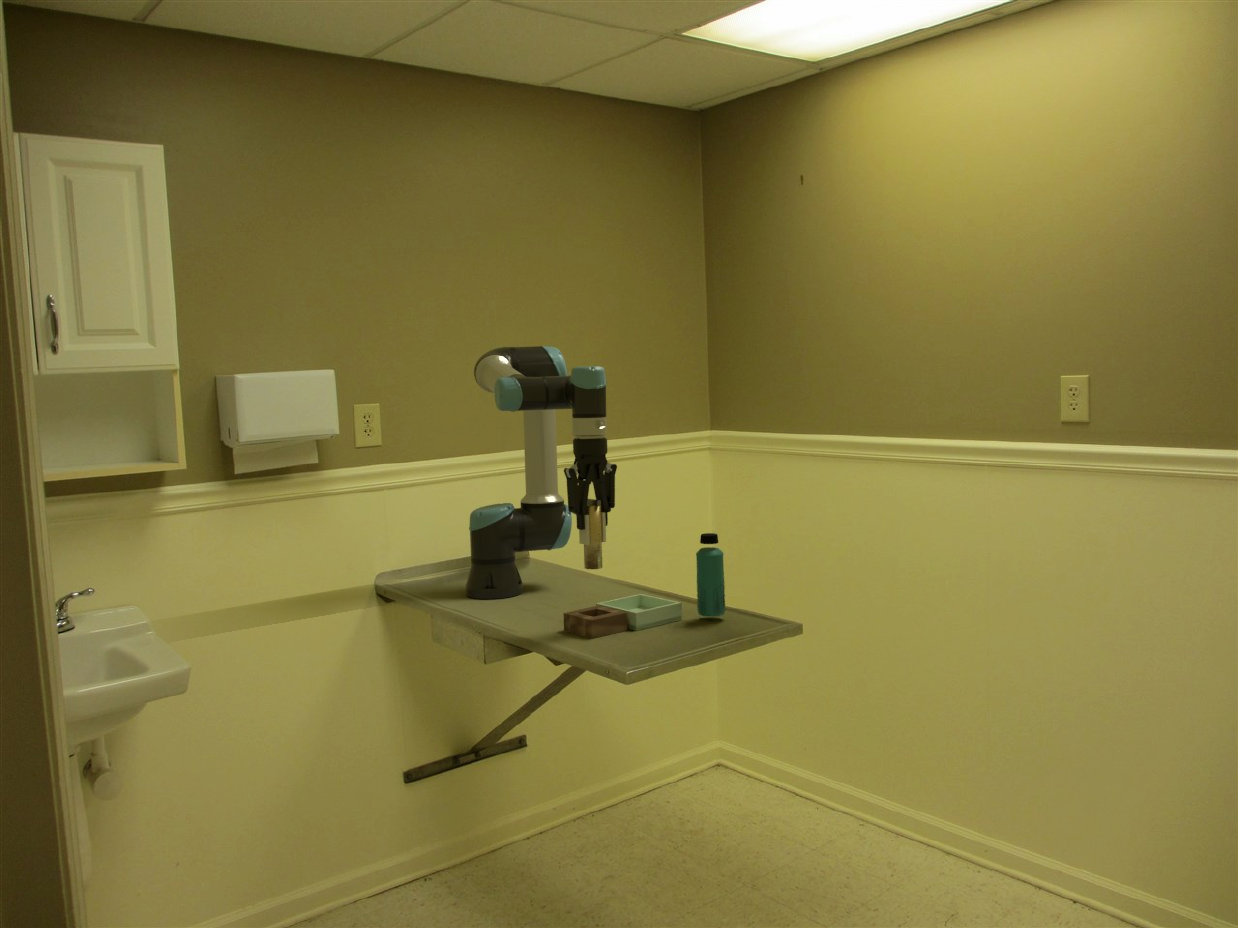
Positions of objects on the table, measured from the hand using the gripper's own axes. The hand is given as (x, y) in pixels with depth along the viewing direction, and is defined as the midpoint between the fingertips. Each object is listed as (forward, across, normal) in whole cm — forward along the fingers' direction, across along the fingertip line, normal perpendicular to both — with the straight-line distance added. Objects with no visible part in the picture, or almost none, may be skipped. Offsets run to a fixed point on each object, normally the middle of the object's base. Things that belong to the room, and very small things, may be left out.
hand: (592, 542), depth 220 cm
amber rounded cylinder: (+6, 0, 0) cm, 6 cm away
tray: (+20, +13, 0) cm, 24 cm away
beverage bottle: (+20, +24, -12) cm, 34 cm away
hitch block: (+20, 0, 0) cm, 20 cm away
